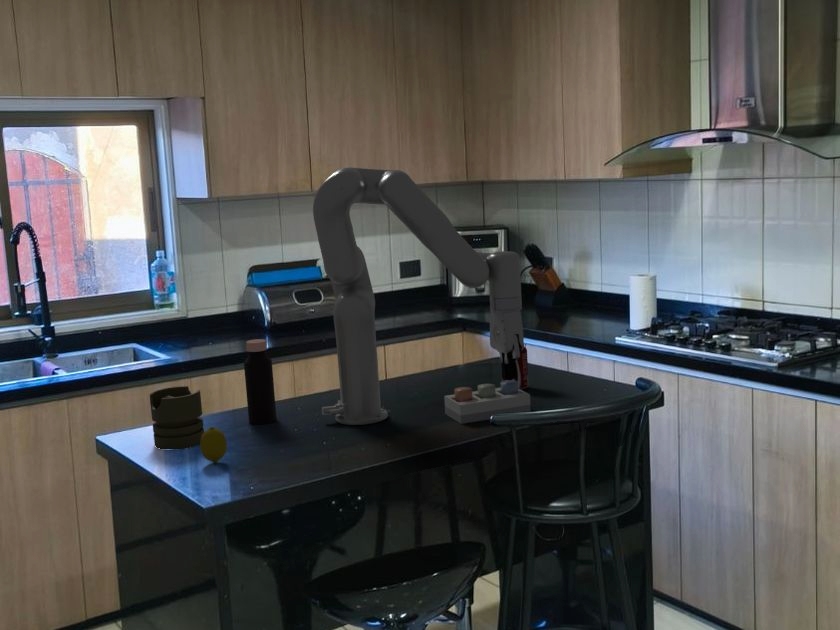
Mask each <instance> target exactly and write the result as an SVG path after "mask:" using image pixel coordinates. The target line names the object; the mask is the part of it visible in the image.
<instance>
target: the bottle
mask: <svg viewBox="0 0 840 630" xmlns="http://www.w3.org/2000/svg"><path fill="white" fill-rule="evenodd" d="M245 347H246V349H245V350H246V353H247V354H248V356H247V357H246V359H245V360H244V362H243V368H244V378H245V380H244V381H245V391H246V392H245V393H246V403H247V413H248V414H247V415H248V423H250V424H252V425H266V424H267V425H268V424H271V423H275V421H276V420H277V419H278V418H277V408H276V396H275V384H274V383H275V382H274V372H273V360H272V358H270V357H269V355H267V351H268V345H267V339H261V338H259V339H258V338H257V339H255V338H254V339H250V340H249V339H248V340H247V341H246V342H245Z"/></svg>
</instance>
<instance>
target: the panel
mask: <svg viewBox="0 0 840 630" xmlns="http://www.w3.org/2000/svg"><path fill="white" fill-rule="evenodd" d="M495 392H496V397H491V398H484V399H481V398H479V397H478V390H476V391H472V397H473V400H471V401H464V402H456V401H455V393H453V394H450V395H449V394H448V395H443V397H444V398H443V400H444V414H445V415H446V416H448V417H449V418H451V419H452V420H454V421H456V422H458V423H459V424H467V423H475V422H482V421H487V420H491V419H490V417H491V416H492V415H494V414H498V413H506V412H523V411H531V407H532V406H531V394H530V393H528V392H526V391H524V390H520V389H518V393H517V394H510V395H503V394H501V387H495ZM531 412H532V411H531Z"/></svg>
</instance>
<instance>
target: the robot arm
mask: <svg viewBox="0 0 840 630" xmlns="http://www.w3.org/2000/svg"><path fill="white" fill-rule="evenodd" d="M354 204H368V205H369V204H370V205H383V206H384V205H385V206H386V207H387V208H388V209H389V210H390V211H391V212H392V213H393V215H395V217H397V219H399V220H400V222H402V223H403V225H404V226H406V227H407V229H408V230H409V231H410V232H411V233H412V234H413V236H415V237H416V239H418V241H420V243H421V244H422V245H423V246H424V247H425V248H427V249H428V250H429V251H430V252H431V253H432V254H433V255H434V256H435V258H437V260H438V261H440V262H441V263H442V264H443V266H444V267H445V268H446V269H447V270H448V271H449V272H450V273H451V274H452V275H453V277H455V278H456V279H457V281H459V283H460V284H462V285H463V286H464V287H466V288H469V289H477V288H480V287H482V286H484V284H486V283H487V282H488V286H489V290H488V291H489V310H490V314H489V346H490V347H491V348H492V349H493V350H495V351H497V352H498V353H499V359H500V362H501V363H500V364H501V379H502V378H503V379H505V380H510V379H516V378H517V369H516V363H517V358H520V351H522V350H523V348H524V346H525V341H524V327H523V319H522V312H521V311H522V310H523V306H522V305H523V303H522V301H523V300H522V285H521V284H522V282H521V281H522V280H521V260H520V255H519V254H518V253H517V252H515V251H510V250H509V251H507V250H504V251H503V250H502V251H495V252H477V251H476V250H475V249H474V248H473V247H472V246H471V245H470V244H469V243H468V242H467V241H466V239H465V238H464V237H463V236H462V234H460V233H459V232H458V230H457V229H456V228H455V226H454V225H453V224H452V222H451V220H450V219H449V218H448V217H447V215H446V214H445V212H443V210H441V209H440V208H439V207H438V206H437V205H436V203H434V201H433V200H431V198H430V197H429V196H428V195H427V194H426V193H425V192H424V191H423V190H422V189H421V188H420V187H419V185H417V184H416V182H415V181H414V180H413V179H412V178H411V176H409V174H408V173H406V172H405V171H403V170H400V169H374V168H361V167H343V168H340V169H338V170H336V171H334V172H333V173H332V174H331V175H329V176H328V177H327V178H326V179H325V180H324V181H323V182H322V184H321V185H320V186H319V188H318V189H317V191H316V193H315V196H314V200H313V205H312V214H313V215H312V216H313V221H314V226H315V232H316V235H317V241H318V245H319V249H320V252H321V253H320V254H321V257H322V263H323V269H324V272H325V274H326V277H328V279H329V280H330V283H331V286H332V291H333V294H334V298H335V299H334V300H335V302H334V306H333V313H332V314H333V324H334V332H335V342H336V356H337V367H338V381H339V383H338V384H339V396H340V397H339V398H340V399H338V400H337V403H335V404H334V405H331V406H329V405H328V406H322V407H321V413H322V414H321V415H323V416H326V415H327V416H328V415H330V416H335V421H336V422H337V423H339V424H341V425H342V424H343V425H346V426H347V425H349V426H362V425H364V426H365V425H370V424H375V423H379V422H382V421H384V420H385V419H387V418H388V411H387V410H386V409H385V408H382V407H381V391H380V390H381V389H380V379H379V378H380V377H379V364H378V363H379V360H378V351H377V350H378V349H377V336H376V335H377V334H376V319H375V317H376V315H375V314H376V313H375V310H376V298H375V294H374V293H375V292H374V289H373V287H372V282H371V278H370V274H369V270H368V266H367V265H368V264H367V261H366V258H365V255H364V252H363V250H362V249H361V248H360V247H359V246H358V245H357V241H356V237H355V234H354V228H353V224H352V220H351V216H350V213H351V212H350V211H351V207H352V206H353V205H354ZM502 362H503V363H502Z"/></svg>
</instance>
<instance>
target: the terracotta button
mask: <svg viewBox="0 0 840 630" xmlns="http://www.w3.org/2000/svg"><path fill="white" fill-rule="evenodd" d="M472 392H473V388H472V387H469V386H468V387H467V386H461V387H455V388H454V394H455V401H456V402H464V401H471V400H473V397H472Z"/></svg>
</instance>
